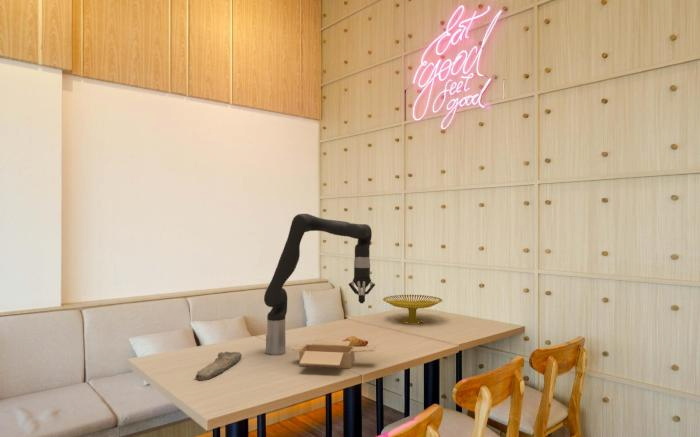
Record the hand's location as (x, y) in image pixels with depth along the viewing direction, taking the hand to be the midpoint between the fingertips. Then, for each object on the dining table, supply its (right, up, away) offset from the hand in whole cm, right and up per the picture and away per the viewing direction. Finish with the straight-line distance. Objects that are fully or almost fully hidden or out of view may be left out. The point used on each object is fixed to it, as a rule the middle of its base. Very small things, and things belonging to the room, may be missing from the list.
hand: (361, 303), depth 213 cm
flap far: (-4, -22, -1) cm, 22 cm away
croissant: (-6, -30, +27) cm, 40 cm away
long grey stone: (-65, -30, -4) cm, 72 cm away
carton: (-18, -29, +6) cm, 34 cm away
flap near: (-17, -22, -5) cm, 28 cm away
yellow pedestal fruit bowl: (+37, -30, +93) cm, 104 cm away
